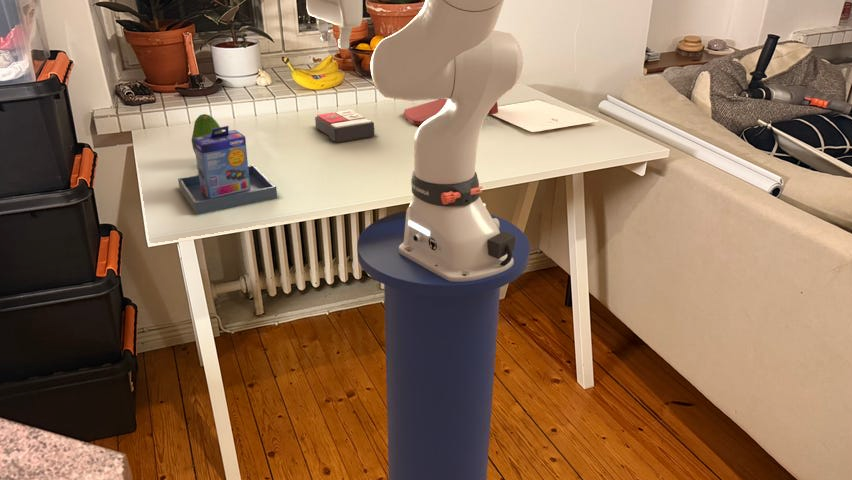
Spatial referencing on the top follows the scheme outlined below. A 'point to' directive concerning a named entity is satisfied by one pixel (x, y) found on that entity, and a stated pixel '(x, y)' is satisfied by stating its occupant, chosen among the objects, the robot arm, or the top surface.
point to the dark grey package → (344, 125)
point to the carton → (431, 111)
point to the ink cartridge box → (222, 163)
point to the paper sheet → (540, 116)
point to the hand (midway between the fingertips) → (334, 44)
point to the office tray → (258, 192)
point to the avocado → (204, 126)
